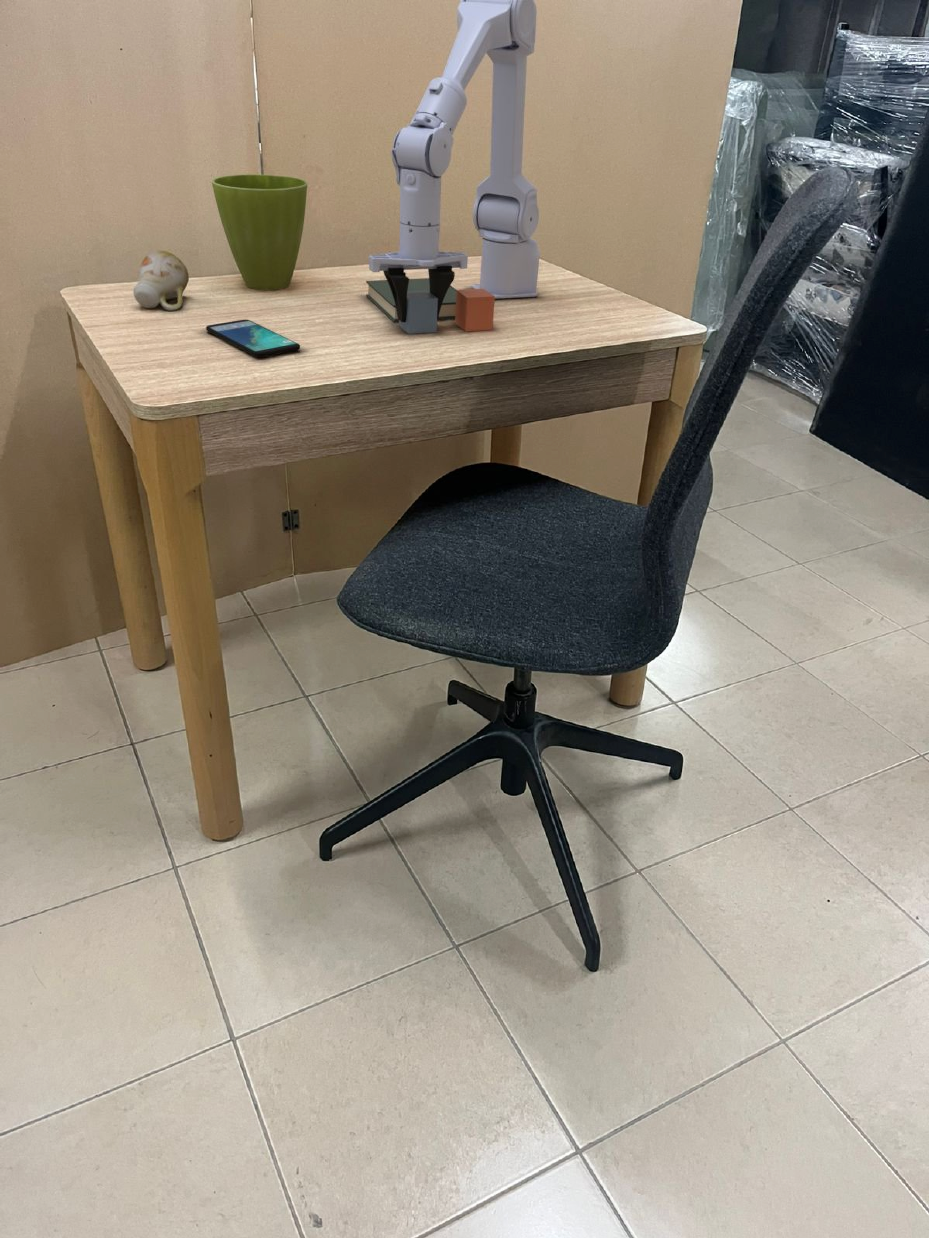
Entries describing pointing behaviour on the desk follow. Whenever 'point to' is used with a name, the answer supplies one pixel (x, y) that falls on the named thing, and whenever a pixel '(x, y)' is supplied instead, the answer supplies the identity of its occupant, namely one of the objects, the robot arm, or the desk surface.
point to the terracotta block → (474, 309)
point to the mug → (161, 280)
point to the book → (384, 297)
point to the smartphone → (253, 338)
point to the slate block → (420, 313)
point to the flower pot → (262, 225)
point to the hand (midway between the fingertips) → (417, 319)
